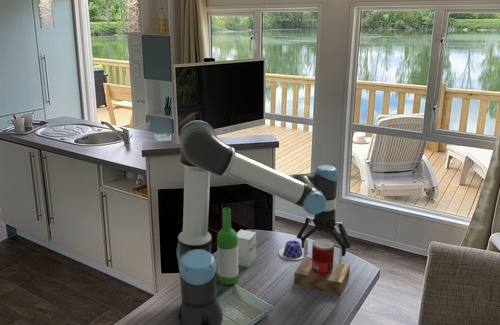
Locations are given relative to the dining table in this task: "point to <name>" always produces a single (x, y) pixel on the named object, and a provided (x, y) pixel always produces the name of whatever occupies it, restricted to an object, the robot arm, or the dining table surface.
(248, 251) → the supplement box
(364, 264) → the dining table surface
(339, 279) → the wooden block
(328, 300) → the dining table surface
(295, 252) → the pudding
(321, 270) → the canned food
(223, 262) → the wine bottle
